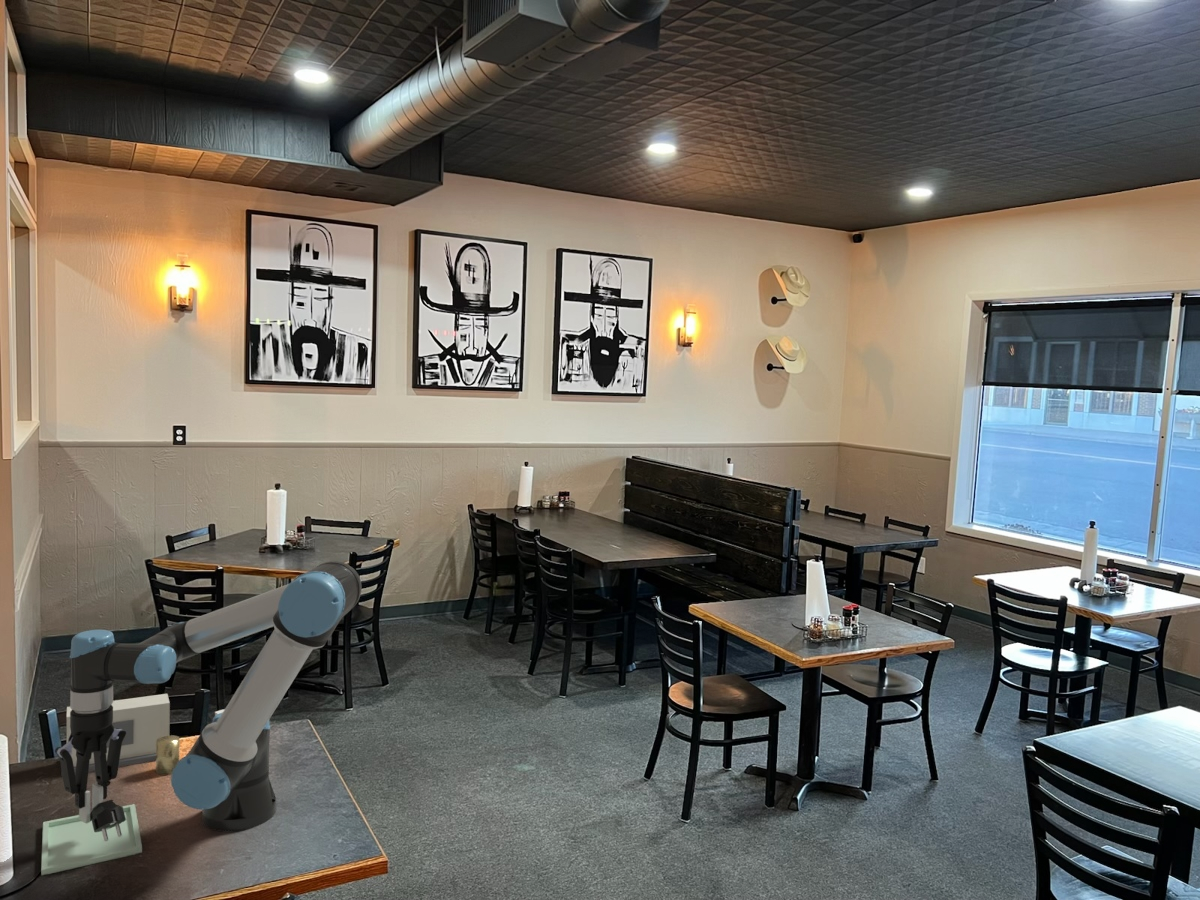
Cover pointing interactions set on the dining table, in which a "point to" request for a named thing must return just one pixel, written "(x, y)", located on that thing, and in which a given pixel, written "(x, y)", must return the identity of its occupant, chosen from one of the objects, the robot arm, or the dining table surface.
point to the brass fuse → (167, 754)
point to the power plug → (107, 817)
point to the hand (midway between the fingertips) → (91, 818)
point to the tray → (87, 842)
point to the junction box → (135, 728)
